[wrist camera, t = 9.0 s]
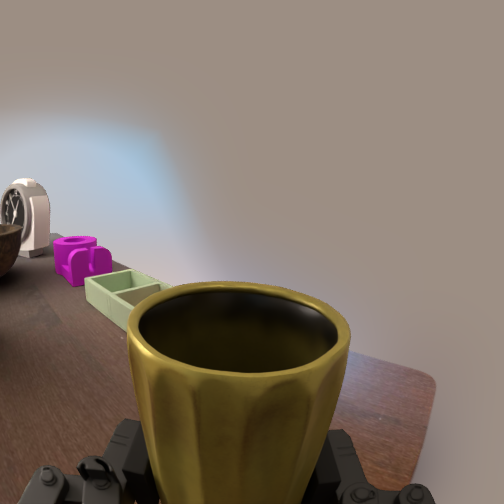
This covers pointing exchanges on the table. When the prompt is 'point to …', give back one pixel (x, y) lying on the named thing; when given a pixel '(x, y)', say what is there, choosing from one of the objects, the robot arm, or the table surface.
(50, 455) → the table surface
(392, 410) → the table surface
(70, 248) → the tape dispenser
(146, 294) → the tray
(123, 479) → the robot arm
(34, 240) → the alarm clock
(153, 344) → the vase
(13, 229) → the bowl
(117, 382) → the table surface
